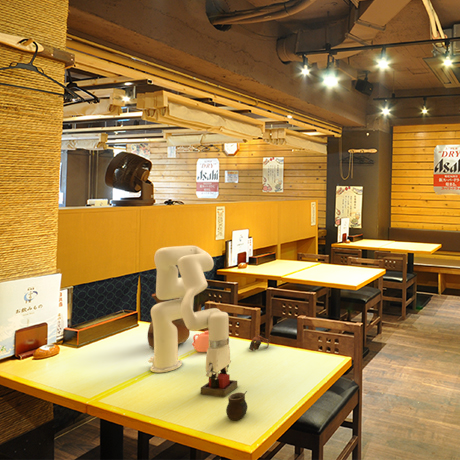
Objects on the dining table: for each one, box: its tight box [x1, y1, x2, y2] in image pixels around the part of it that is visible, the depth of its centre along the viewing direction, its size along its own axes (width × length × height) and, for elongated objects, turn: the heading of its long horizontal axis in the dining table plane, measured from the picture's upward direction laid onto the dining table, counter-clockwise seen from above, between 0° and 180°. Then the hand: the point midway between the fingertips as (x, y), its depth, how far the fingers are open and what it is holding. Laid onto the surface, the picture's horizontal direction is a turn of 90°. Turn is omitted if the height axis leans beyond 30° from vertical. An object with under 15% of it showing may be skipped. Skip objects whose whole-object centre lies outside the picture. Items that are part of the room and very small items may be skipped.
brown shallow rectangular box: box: [200, 379, 238, 398], centre depth 153 cm, size 11×8×3 cm
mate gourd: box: [225, 390, 248, 421], centre depth 134 cm, size 7×8×10 cm
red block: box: [208, 372, 231, 389], centre depth 153 cm, size 6×4×4 cm
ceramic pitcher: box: [147, 292, 191, 348], centre depth 202 cm, size 20×20×30 cm
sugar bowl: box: [191, 330, 209, 353], centre depth 196 cm, size 12×14×10 cm
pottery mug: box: [249, 334, 270, 352], centre depth 199 cm, size 12×10×8 cm
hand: (219, 384), depth 153 cm, fingers closed on red block, 4 cm apart
